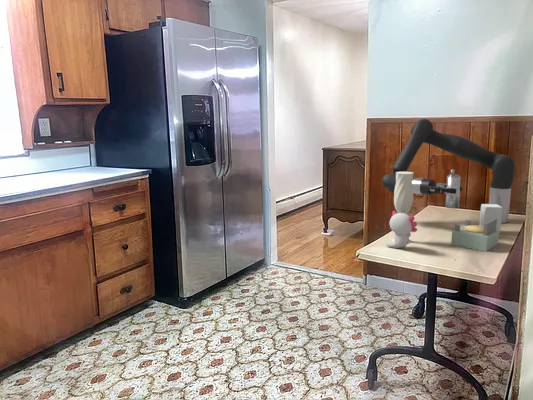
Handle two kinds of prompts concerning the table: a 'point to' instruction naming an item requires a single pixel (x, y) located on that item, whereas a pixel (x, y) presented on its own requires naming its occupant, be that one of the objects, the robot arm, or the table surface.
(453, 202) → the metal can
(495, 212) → the supplement box
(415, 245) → the table surface
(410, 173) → the vase
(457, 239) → the green and yellow block
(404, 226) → the toy
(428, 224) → the table surface
